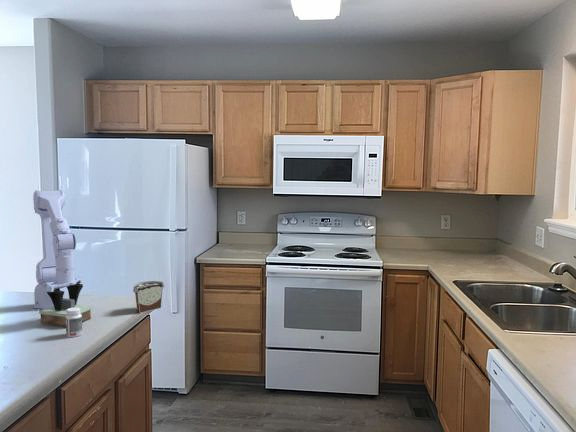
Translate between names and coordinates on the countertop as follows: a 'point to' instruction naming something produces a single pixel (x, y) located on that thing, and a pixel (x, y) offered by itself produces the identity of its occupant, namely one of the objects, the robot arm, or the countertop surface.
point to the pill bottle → (73, 322)
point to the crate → (62, 319)
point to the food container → (148, 295)
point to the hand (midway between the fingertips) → (65, 307)
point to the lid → (64, 308)
